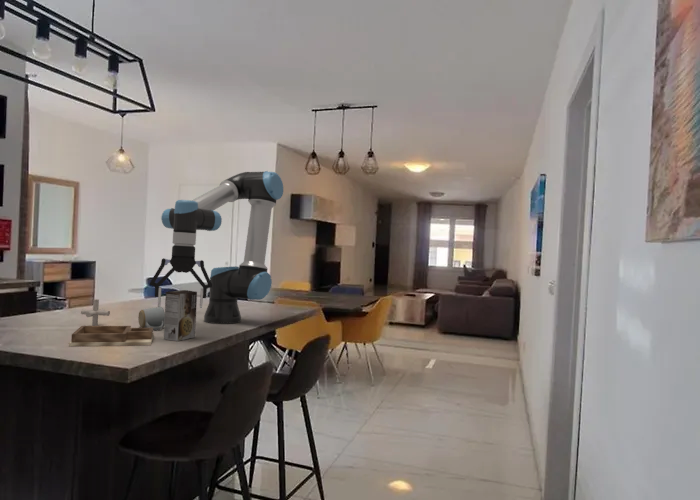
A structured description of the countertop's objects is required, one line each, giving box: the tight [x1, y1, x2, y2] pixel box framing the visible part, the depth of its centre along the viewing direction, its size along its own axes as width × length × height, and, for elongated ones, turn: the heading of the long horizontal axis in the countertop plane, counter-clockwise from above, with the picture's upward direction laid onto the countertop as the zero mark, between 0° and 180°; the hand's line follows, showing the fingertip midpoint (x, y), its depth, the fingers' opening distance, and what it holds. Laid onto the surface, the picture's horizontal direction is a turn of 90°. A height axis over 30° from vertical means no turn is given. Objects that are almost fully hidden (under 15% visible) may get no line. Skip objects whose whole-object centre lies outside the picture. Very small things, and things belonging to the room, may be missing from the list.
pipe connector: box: [80, 298, 111, 326], centre depth 186 cm, size 10×10×10 cm
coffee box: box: [163, 289, 198, 342], centre depth 171 cm, size 9×6×16 cm
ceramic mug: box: [138, 306, 165, 331], centre depth 188 cm, size 11×8×8 cm
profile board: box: [68, 325, 155, 347], centre depth 162 cm, size 23×17×4 cm
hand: (180, 307), depth 171 cm, fingers open, 13 cm apart
